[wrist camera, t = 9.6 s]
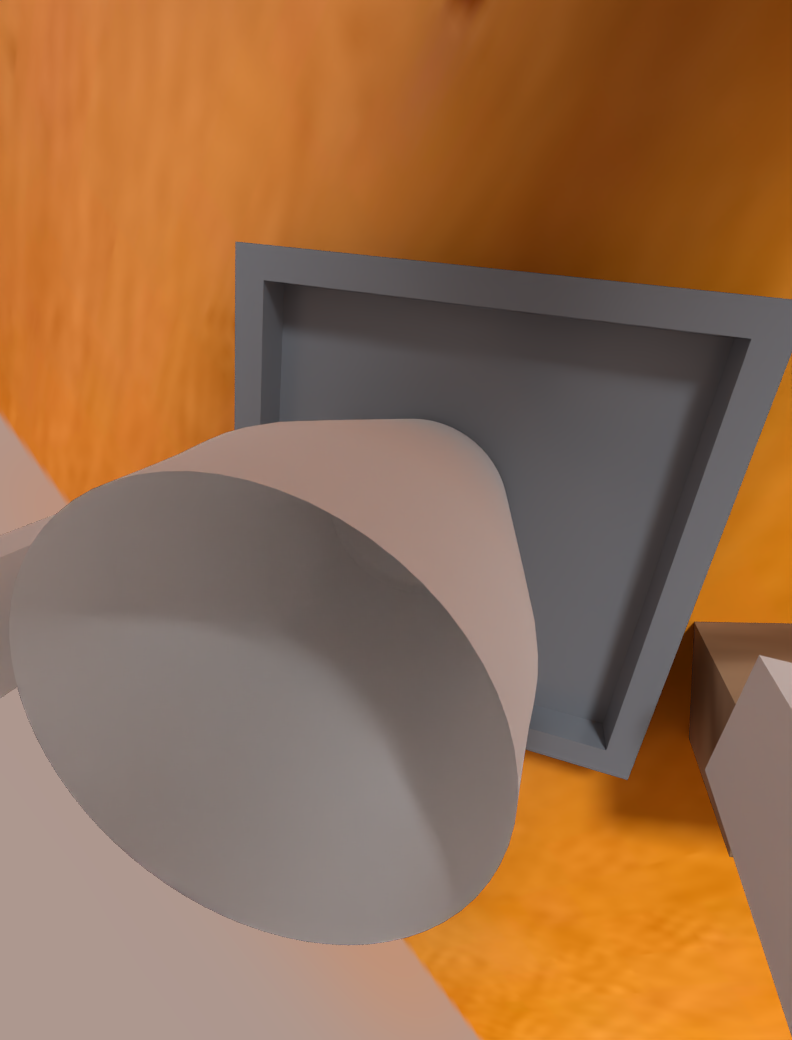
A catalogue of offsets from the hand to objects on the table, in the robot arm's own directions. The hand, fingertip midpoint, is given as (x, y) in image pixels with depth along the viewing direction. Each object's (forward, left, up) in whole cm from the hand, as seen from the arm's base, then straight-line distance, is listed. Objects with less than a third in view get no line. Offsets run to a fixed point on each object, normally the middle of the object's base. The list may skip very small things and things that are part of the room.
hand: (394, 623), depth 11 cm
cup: (0, -2, -9) cm, 9 cm away
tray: (0, 0, -9) cm, 9 cm away
